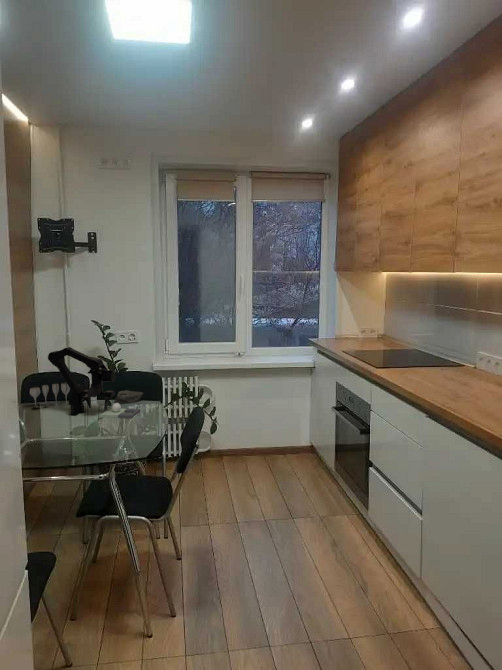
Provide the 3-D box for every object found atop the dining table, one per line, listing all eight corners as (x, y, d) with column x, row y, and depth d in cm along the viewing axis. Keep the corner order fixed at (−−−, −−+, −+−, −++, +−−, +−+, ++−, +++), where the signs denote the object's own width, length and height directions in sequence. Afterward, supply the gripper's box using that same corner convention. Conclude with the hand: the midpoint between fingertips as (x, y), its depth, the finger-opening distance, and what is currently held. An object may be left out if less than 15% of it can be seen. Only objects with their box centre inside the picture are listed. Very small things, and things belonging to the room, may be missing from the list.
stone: (117, 402, 290) (114, 387, 295) (113, 408, 296) (111, 393, 301) (147, 400, 300) (144, 385, 305) (142, 406, 306) (139, 392, 311)
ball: (110, 412, 275) (110, 404, 275) (113, 410, 280) (113, 401, 280) (119, 413, 275) (118, 404, 274) (122, 410, 280) (122, 402, 279)
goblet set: (79, 402, 306) (78, 381, 304) (80, 404, 300) (80, 382, 299) (30, 407, 293) (29, 385, 292) (30, 409, 288) (29, 387, 287)
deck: (100, 417, 271) (100, 414, 271) (110, 410, 285) (110, 408, 285) (132, 418, 269) (131, 415, 269) (140, 411, 283) (140, 409, 283)
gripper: (74, 383, 270) (75, 411, 271) (107, 384, 268) (108, 412, 269) (83, 379, 281) (84, 406, 282) (115, 380, 279) (115, 407, 280)
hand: (97, 408), depth 278 cm, fingers open, 9 cm apart
